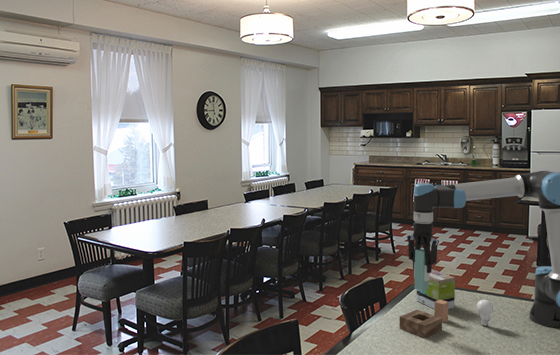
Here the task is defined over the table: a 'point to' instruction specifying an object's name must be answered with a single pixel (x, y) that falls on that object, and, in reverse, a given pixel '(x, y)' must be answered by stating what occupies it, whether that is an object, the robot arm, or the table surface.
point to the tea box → (438, 290)
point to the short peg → (441, 309)
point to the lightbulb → (484, 310)
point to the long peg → (420, 271)
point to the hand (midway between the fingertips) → (421, 278)
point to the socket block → (420, 323)
